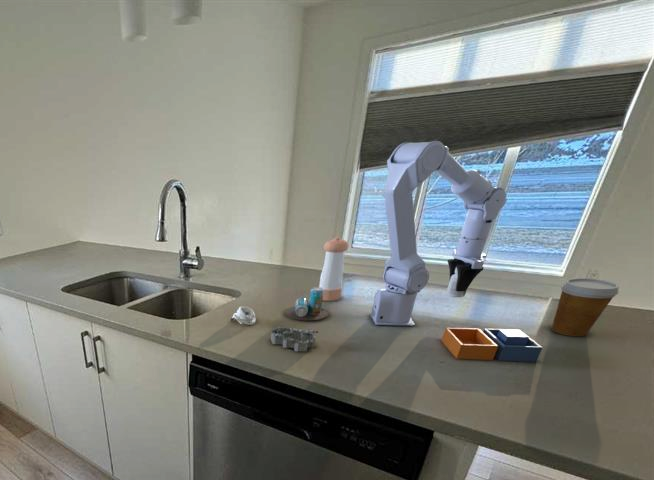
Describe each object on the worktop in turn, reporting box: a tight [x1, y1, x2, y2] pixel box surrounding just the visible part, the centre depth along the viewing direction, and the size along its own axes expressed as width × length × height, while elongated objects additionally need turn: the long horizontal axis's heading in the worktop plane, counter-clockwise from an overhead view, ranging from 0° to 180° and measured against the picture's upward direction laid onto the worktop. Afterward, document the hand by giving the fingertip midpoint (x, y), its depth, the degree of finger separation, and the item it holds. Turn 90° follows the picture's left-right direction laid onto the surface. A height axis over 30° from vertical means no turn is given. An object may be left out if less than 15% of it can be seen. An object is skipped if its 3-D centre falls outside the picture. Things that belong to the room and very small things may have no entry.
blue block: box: [496, 329, 530, 346], centre depth 92 cm, size 4×4×4 cm
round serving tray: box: [285, 286, 329, 322], centre depth 121 cm, size 12×12×8 cm
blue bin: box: [482, 328, 543, 363], centre depth 92 cm, size 7×10×4 cm
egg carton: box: [269, 325, 319, 353], centre depth 105 cm, size 11×8×4 cm
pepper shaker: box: [317, 236, 350, 302], centre depth 129 cm, size 7×7×19 cm
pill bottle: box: [445, 267, 468, 298], centre depth 111 cm, size 4×4×8 cm
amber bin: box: [441, 327, 498, 361], centre depth 95 cm, size 7×10×4 cm
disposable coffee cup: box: [551, 277, 620, 337], centre depth 96 cm, size 10×10×12 cm
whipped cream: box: [230, 305, 256, 326], centre depth 121 cm, size 8×7×5 cm
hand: (457, 288), depth 112 cm, fingers closed on pill bottle, 4 cm apart
